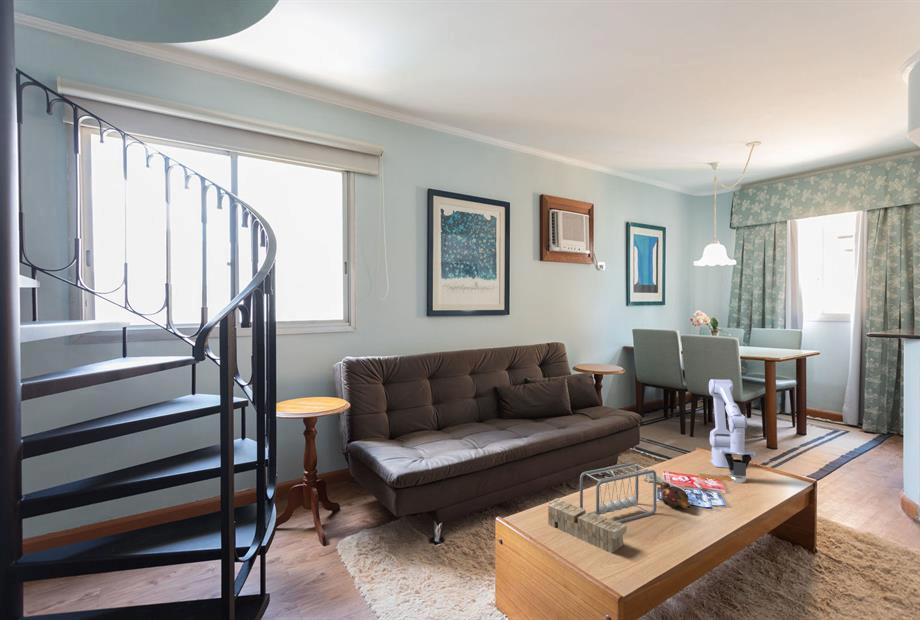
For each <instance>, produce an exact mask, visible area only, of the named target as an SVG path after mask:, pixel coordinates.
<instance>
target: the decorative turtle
mask: <svg viewBox="0 0 920 620" xmlns="http://www.w3.org/2000/svg"><path fill="white" fill-rule="evenodd" d="M659 487H660V491H661V493H660V495H661V499H662V502H663V504H665V505H667V504H668V505H669V507H670V508H671V509H672V510H673V509H676V507H677V506H678V507H679V506H680V507H681V508H683V509H684V510H690V509H691V508H692V504H691V503H690V502H689V500H690V499H689V495H688V494H686V492H685V491H683V490H682V489H683V488H682V489H680V488H681V487H680V488H678V487H679V486H678V487H675V486H670V485H669V483H667V482H662V483H661V482H660V486H659Z"/></svg>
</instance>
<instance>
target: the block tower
mask: <svg viewBox="0 0 920 620" xmlns="http://www.w3.org/2000/svg"><path fill="white" fill-rule="evenodd" d="M548 504H549V505H547V515H548V517H547V518H548V521H547V522H548V526H551V527H553V528H556V527H557V529H558V530H559V531H562V532H563V533H566V534H568V535H570V536H572V537H574V538H577V539H579V540H581V541H584V542H585V543H587V544H589V545H593V546H594V547H596V548H599V549H601V550H603V551H606V552H608V553H610V554H613V553H615V552H616V551H617V550H618V549H620V548H622V547H623V546H624V535H625V534H626V533H627V532H628V530H627V528H628V526H627V525H626V524H625V523H623V522H622V523H620V522H616V521H617V520H613V519H610V518H607V517H606V516H603V515H602V514H601V515H600V514H599V515H598V514H596V513H592V514H590V515H589V514H586V513H587V512H586V509H585V508H583V509H582V508H580V506H577V505H575V504H572V503H570V502H567V501H565V500H561V498H555V499H553V500H551V501H549V502H548Z"/></svg>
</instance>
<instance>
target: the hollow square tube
mask: <svg viewBox="0 0 920 620" xmlns="http://www.w3.org/2000/svg"><path fill="white" fill-rule="evenodd" d="M732 466H733V468H732V470H730V469H728V471H729V473H730V474H733V475H735V476H745V477H747V469H746V463H745V462H744V461H743V460H742V458H740V459H738V458H733V463H732Z"/></svg>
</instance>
